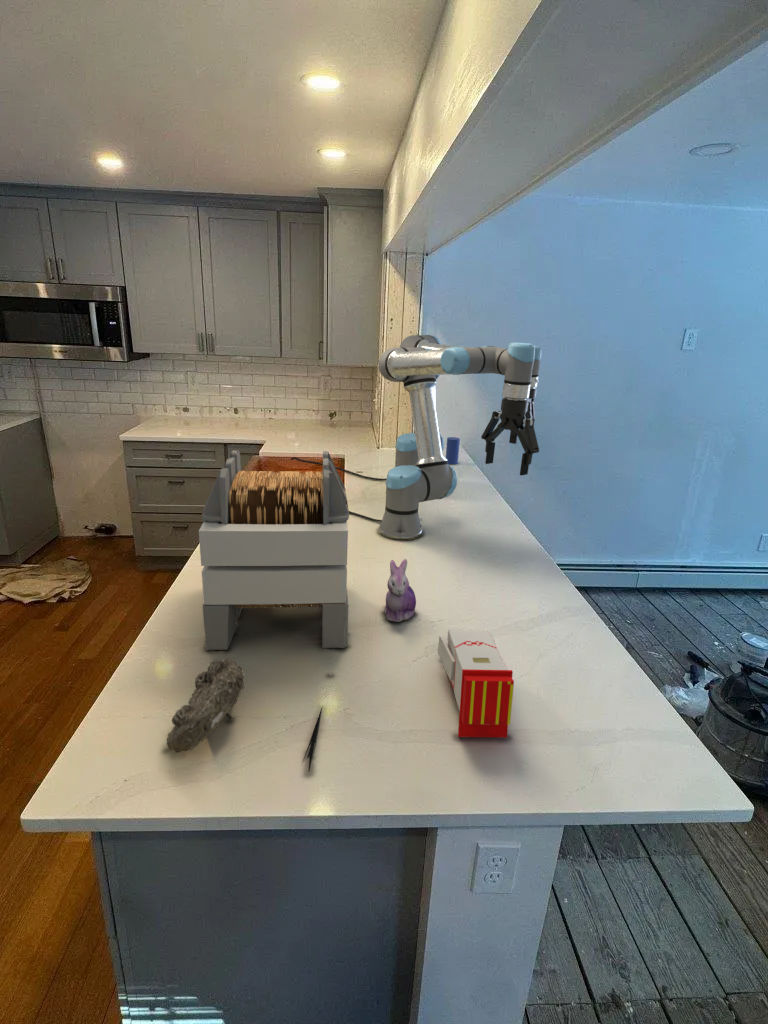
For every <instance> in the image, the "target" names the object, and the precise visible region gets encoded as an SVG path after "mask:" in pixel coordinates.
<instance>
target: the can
mask: <svg viewBox="0 0 768 1024" xmlns="http://www.w3.org/2000/svg"><path fill="white" fill-rule="evenodd" d="M446 438H447V439H446V446H445V447H446V450H445V458H446V459H447V461H448V465H457V464H458V463H459V453H460V442H461V439H460V438H459V437H456V436H448V437H446Z"/></svg>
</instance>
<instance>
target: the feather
mask: <svg viewBox="0 0 768 1024" xmlns="http://www.w3.org/2000/svg"><path fill="white" fill-rule="evenodd" d="M329 675H330V676H331V675H332V674H331V673H330V674H329ZM322 710H323V707H321V708H320V710H319V713H318V716H317V719H316V723H315V725H314V728H313V731H312V733H311V737H310V739H309V742H308V745H307V748H306V751H305V754H304V757H303V760H302V763H301V767H302V765H303V763H304V761H305V758H308V759H309V760H308V762H307V763H308V764H307V766H308V771H310V770H311V766H312V765H311V764H312V760H313V757H315V756H314V755H315V751H316V749H315V746H317V739H318V733H319V729H320V722H321V717H322V712H323V711H322ZM313 754H314V755H313ZM306 755H307V757H306Z"/></svg>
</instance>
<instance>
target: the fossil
mask: <svg viewBox="0 0 768 1024" xmlns="http://www.w3.org/2000/svg"><path fill="white" fill-rule="evenodd" d="M243 670H244V669H243V667H242V665H240V664H237V662H236V661H235V660H234V659H232V658H231V659H227V658H226V659H224V660H223V661H222V660H217V659H212V660H211V661H210V663H209V665H208V666H207V671H201V672H199V673H198V674H197V675H196V676H195V680H194V684H195V685H194V687H195V689H194V690H193V693H192V694H191V697H190V698H189V700H188V704H184V705H182V706H181V707H180V709H177V710H176V711H175V713H174V715H173V716H172V718H171V723H172V724H173V727H172V730H171V731H170V732H168V734H167V738H166V741H167V742H166V745H167V749H168V750H169V751H173V752H174V753H176V754H178V753H182V752H188V751H189V752H192V751H193V750H195V748H196V747H197V746H199V744H200V743H201V742H203V741H204V740H205V739H206V738H207V737H208V736H209V735H210V734H211V733H212V732H214V730H215V729H217V727H218V726H219V724H220V722H221V721H222V720H223V719H224V718H225V716H226V717H227V719H229V720H233V717H232V715H230V714H229V710H230V709H231V708H234V706H235V704H236V703H237V702H238V699H239V697H240V695H241V693H242V691H243V690H245V689H244V688H245V675H244V671H243Z"/></svg>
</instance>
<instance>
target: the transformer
mask: <svg viewBox="0 0 768 1024" xmlns="http://www.w3.org/2000/svg"><path fill="white" fill-rule="evenodd" d="M241 463H242V462H241V453H240V449H238V450H236V449H232V450H231V452H230V454H229V456H228V457H227V458H226V461H225V463H224V465H223V467H222V468H220V471H219V473H218V475H217V478H216V480H215V482H214V484H213V487H212V489H211V491H210V494H209V496H208V498H207V500H206V503H205V505H204V507H203V509H202V512H201V519H202V521H203V522H202V524H201V526H200V528H199V529H198V537H199V538H198V540H199V555H200V566H201V567H203V568H202V570H201V580H202V597H203V603H202V617H203V618H202V619H203V629H204V638H205V646H204V648H205V651H213V650H216V651H217V650H224V651H226V650H228V649H229V647H230V645H231V642H232V639H233V638H234V635H235V632H236V630H237V627H238V620H237V619H239V618H240V617H241V612H242V609H244V608H245V609H251V608H252V609H261V608H263V609H266V608H267V609H268V608H278V609H279V608H297V607H298V608H311V607H312V608H316V607H318V608H321V616H322V619H321V620H322V621H321V622H322V625H321V626H322V627H321V629H322V630H321V631H322V635H321V636H322V637H321V639H322V648H323V649H324V648H325V649H329V648H330V649H331V648H332V649H333V648H336V649H337V648H338V649H345V648H346V647H347V646H348V645H349V644H348V643H349V642H348V641H349V597H348V587H347V586H348V585H347V584H348V566H347V565H348V548H349V547H348V546H349V544H348V543H349V542H348V541H349V528H348V522H347V521H348V520H349V518H350V513H349V511H350V510H349V505H348V498H347V491H346V490H347V489H346V487H345V485H344V482H343V481H342V478H341V476H340V474H339V472H338V469H336V467H337V466H336V465H335V463H334V460H333V458H332V457H331V454H330V452H329V450H328V451H327V450H323V451H322V463H323V465H322V471H315V472H314V471H305V472H301V471H295V470H293V471H287V470H286V471H284V470H282V471H276V472H275V471H272V470H269V471H267V470H259V471H258V470H249V471H248V470H242V466H241Z"/></svg>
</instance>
